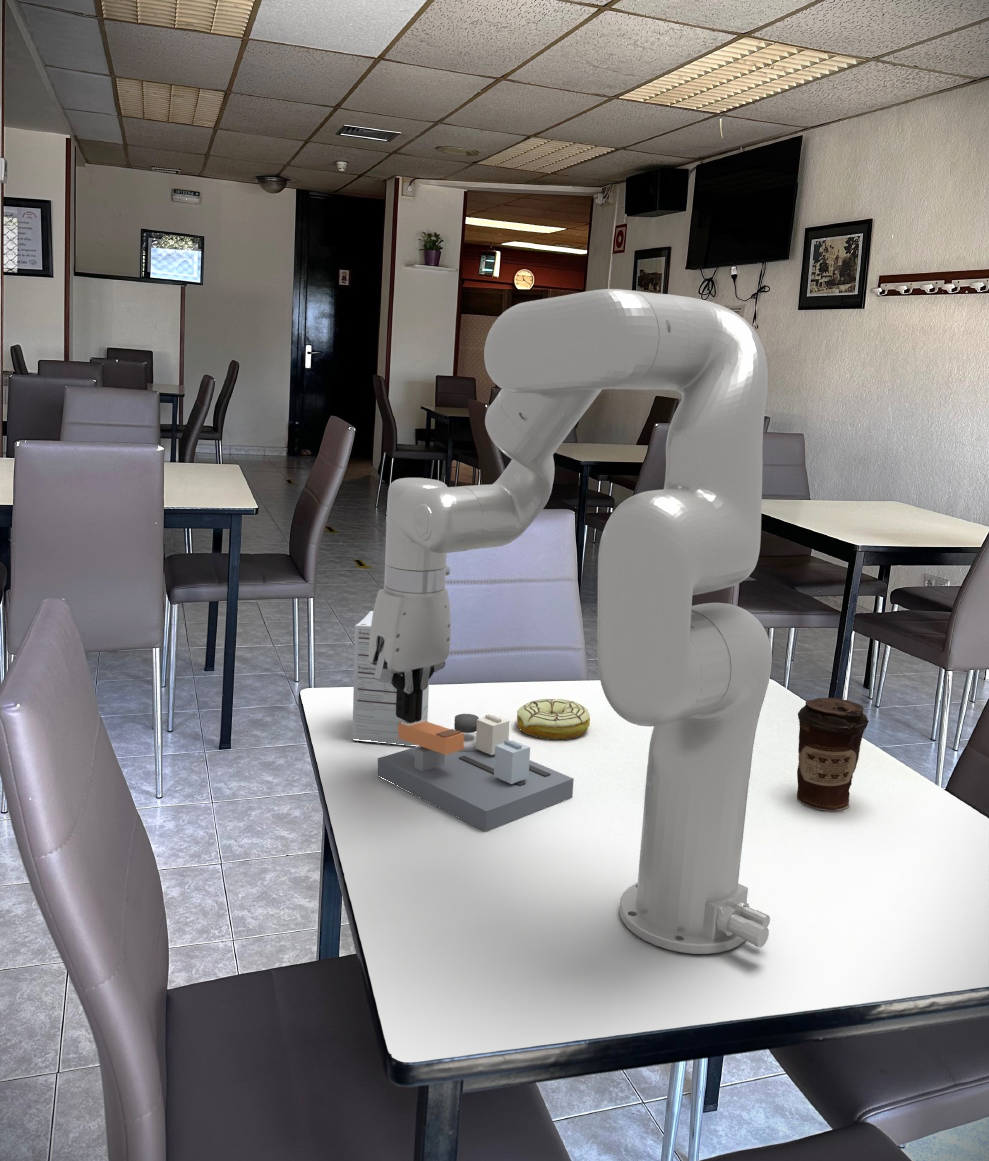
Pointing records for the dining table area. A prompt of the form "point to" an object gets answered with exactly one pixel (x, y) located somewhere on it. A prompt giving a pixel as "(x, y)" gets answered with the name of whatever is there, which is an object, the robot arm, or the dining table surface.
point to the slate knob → (511, 761)
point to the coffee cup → (828, 751)
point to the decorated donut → (553, 719)
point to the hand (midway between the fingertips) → (408, 718)
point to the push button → (466, 723)
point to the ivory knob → (491, 733)
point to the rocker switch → (431, 736)
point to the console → (474, 784)
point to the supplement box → (375, 695)
